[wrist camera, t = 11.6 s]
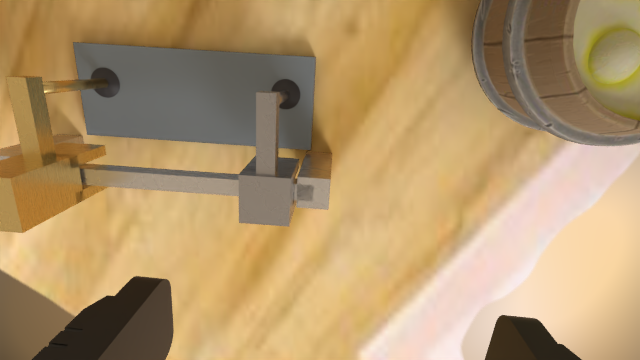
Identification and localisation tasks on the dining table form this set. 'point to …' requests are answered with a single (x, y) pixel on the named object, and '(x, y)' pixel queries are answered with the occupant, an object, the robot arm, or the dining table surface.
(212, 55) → the flange plate
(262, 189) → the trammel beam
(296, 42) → the dining table surface
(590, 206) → the dining table surface
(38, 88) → the slide head
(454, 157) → the dining table surface
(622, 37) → the mug
